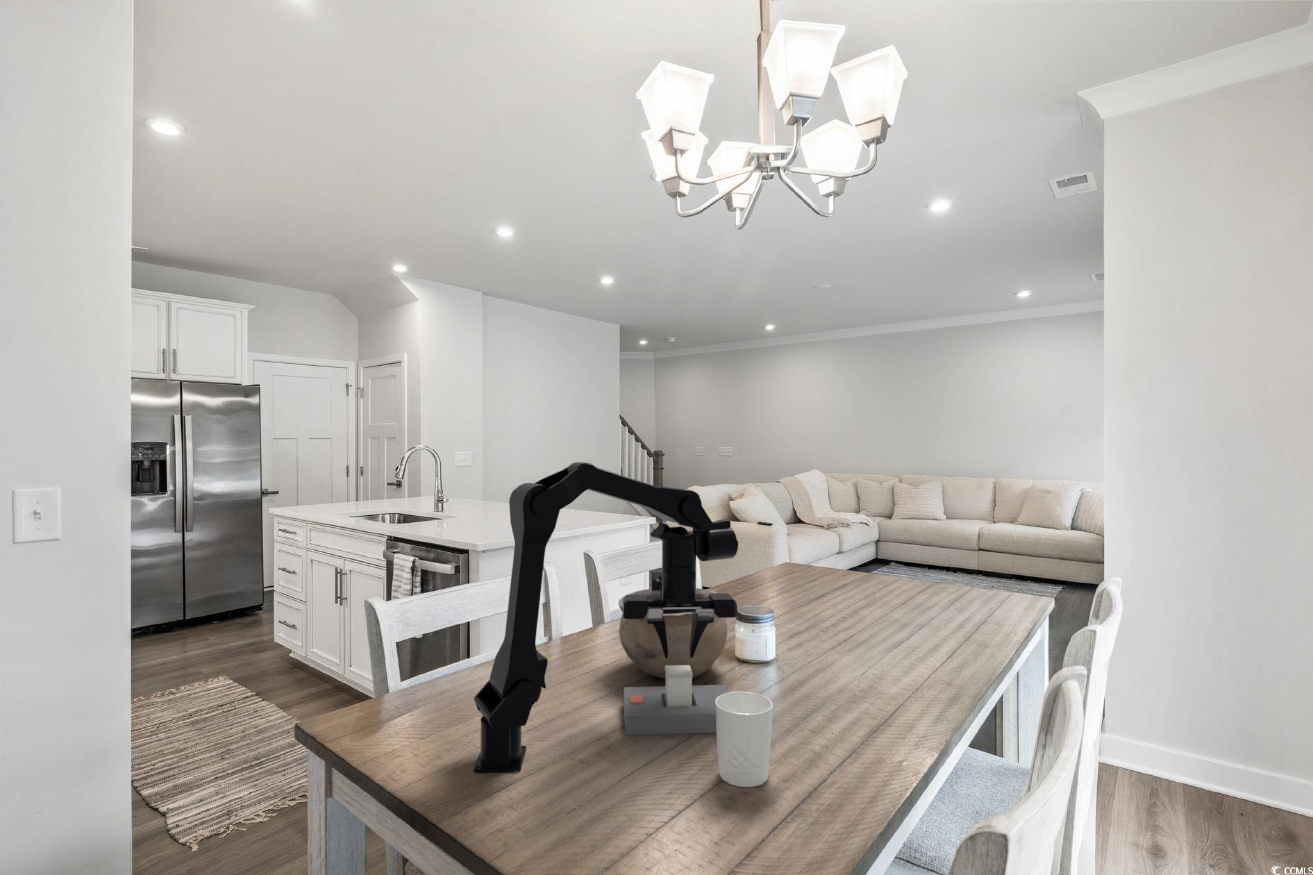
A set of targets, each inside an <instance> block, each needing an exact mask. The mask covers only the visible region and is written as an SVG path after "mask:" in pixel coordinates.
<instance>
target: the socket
mask: <svg viewBox="0 0 1313 875" xmlns="http://www.w3.org/2000/svg"><path fill="white" fill-rule="evenodd" d="M729 692H730V691H729V689H728V688H727V685H726V684H711V685H708V684H707V685H706V684H705V685H702V684H701V685H700V684H699V685H692V706H671V707H665V695H666V685H664V686H663V685H662V686H661V685H660V686H627V687H626V686H624V687H623V711H624V712H623V716H624V718H623V719H624V733H625V734H624V735H625V736H652V735H683V734H684V735H686V734H687V735H689V734H716V710H715V700H716V698H717V697H718V696H720V695H722V694H725V693H729Z"/></svg>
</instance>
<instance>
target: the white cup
mask: <svg viewBox="0 0 1313 875" xmlns="http://www.w3.org/2000/svg"><path fill="white" fill-rule="evenodd" d="M773 706H774V705H773V701H772V700H771V699H769V698H768V697H766V696H764V695H762V694H760V693H756V692H751V691H750V692H749V691H729V693H725V694H722V695H720V696H718V697H717V698H716V700H715V710H716V733H715V734H716V748H717V750H716V751H717V756H718V758H717V759H718V774H719V776H720V777H721V780H722V781H724V782H726V783H727V784H729V785H731V786H735V787H740V788H754V787H757V786H758V787H759V786H762V785H764V783H766V782H767V781H768V778H769V764H770V758H771V747H772V745H771V744H772V742H771V741H772V733H773V732H772V729H773V728H772V727H773V712H774V711H773V710H774V709H773V708H774V707H773Z"/></svg>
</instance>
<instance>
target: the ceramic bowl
mask: <svg viewBox="0 0 1313 875" xmlns="http://www.w3.org/2000/svg"><path fill="white" fill-rule="evenodd" d="M713 593H718V592H717V591H714V590H712V589H711V590H710V589H704V588H697V587H696V599H708V598H709V594H713ZM637 594H646V598H647V600H662V598H661V597H660V591H651V588H647V589H641V590H637V591H633V592H631V593H628V594H627V593H626V595H637ZM624 597H625V595H624V596H622V597H621V598H620V599H619V600H618V606H619V608H620V610H621V612H622V614H621V617H620V621H619V629H618V633H619V634H618V635H619V641H620V644H621V646H622V648H623V650H624V652H625V654H626V656H627V657H628V658H629V659H630V660H631V661H632V663H634V664H635V665H637V667H638V668H639V669H640V670H642V671H643V672H644V673H646V674H648V675H650V676H653V677H655V678H658V679H663V680H666V671H665V666H671V665H690V668H691V671H692V674H693V678H696V677H698V676H701V675H703V674H704V673H705V672H706V671H708V670H709V669H711V668H712V667H713V665H714V664H715V662H716V661H717V660H718V658H720V656H721V654H722V653H723V651H724V650H725V646H726V644H727V637H728V622H727V618H719V617H718V616H717V615H716V614H715V613H714V611H713V613H712V617H713V618H714V622H713V623H708V625H707V627H706V628H705V630H704V632H703V634H702V636H701V638H700V640H699V643H698V645H697V648H696V651H695V653H694V656H693V658H690V638H691V629H692V611H670V612H663V617H664V620H665V628H666V636H667V645H668V658H665V655H664V652H663V648H662V645H661V642H660V639H659V636H658V634H657V632H656V630H655V627H654V625H653V624H648V623H647V622H646V617H644V618H643V619H624V618H623V598H624ZM667 606H675V605H667ZM683 606H691V605H683Z"/></svg>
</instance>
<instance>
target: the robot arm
mask: <svg viewBox="0 0 1313 875" xmlns="http://www.w3.org/2000/svg"><path fill="white" fill-rule="evenodd" d="M587 490H588V491H590V492H594V493H597V494H600V495H604V496H607V497H609V498H610V497H611V498H614V499H617V500H620V501H624V502H626V503H630V504H633V505H637V506H639V507H641V508H643V509H645V511H648V512H649V513H650V514H652V515H654V516H655V517H658V518H660V519H662V520H663V521H666V522H671V523H675V524H677V525H679V526H672V527H670V526H669V524H667V523H663V522H660V523H659V524H658V526H657V527H656V528H655V529H653V530H652V531H651V532H650V534H649V535H650V537H651V538H655V539H659V540H661V547H662V548H661V571H651V573H650V589H651V591H660V597H661V598H662V600H647V598H646V594H637V595H627V594H625V595H624V596H625V597H624V596H623V597H624V598H623V612H622V613H623V618H624V619H643V618H644V617H646V622H647V623H648V624H653V625H654V627H655V630H656V632H657V634H658V636H659V639H660V642H661V645H662V648H663V652H664V655H665V658H668V645H667V636H666V628H665V620H664V617H663V612H670V611H692V629H691V638H690V658H693V656H694V653H695V651H696V648H697V645H698V643H699V640H700V638H701V636H702V634H703V632H704V630H705V628H706V627H707V625H708V623H713V622H714V618H713V617H712V613H713V611H714V613H715V614H716V615H717V616H718V617H719V618H726V619H727V618H737V617H738V605H737V603H738V602H737V601H736V600H735V599H734V597H733V596H732V595H731V594H730V593H724V592H723V593H722V592H721V593H719V592H717V593H713V594H709V598H708V599H696V588H697V559H698V560H699V561H701V562H711V561H717V560H718V561H719V560H729V559H733V558H735V556H736V555H737V554H738V550H739V540H738V539H737V535H736V533H735V530H734V529H733V528H732V527H731V525H732V524H731V523H732V522H731V520H727V519H718V520H715V521H713V520H711V518H710V516H709V514H708V513H707V512H706V510H705V509H704V506H703V505H702V499H701V498H700V494H698V492H696V491H694V490H691V489H685V488H683V489H682V488H677V487H676V488H673V487H667V486H666V487H665V486H658V485H654V484H653V485H652V484H649V483H647V482H644V481H641V480H637V479H635V478H631V477H628V476H624V475H622V474H619V473H616V472H613V471H611V470H610V471H609V470H607V469H603V468H600V467H598V466H596V465H594V464H593V463H589V462H584V461H583V462H581V461H575V462H572V463H571V464H570V465H568V466H566V467H565V468H563V469H561V470H559V471H556V472H554V473H552V474H550V475H548V476H545V477H543V478H541V479H540V480H537V481H536V482H534V483H533V482H524V483H523V484H520V485H518V486H517V487H515V489H513V490H512V491H511V493H510V496H509V501H508V503H509V516H510V517H509V518H510V519H509V520H510V521H509V522H510V526H511V530H512V535H513V541H514V550H513V559H512V568H511V576H510V577H511V578H510V584H509V586H510V587H509V595H508V604H507V614H506V622H505V630H504V639H503V642H502V644H501V645H500V646H499V649H498V652H497V653H496V655H495V658H494V661H493V663H492V664H493V665H492V668H491V671H490V676H489V679H488V681H486V683H485V684H484V685H483V687H481V689H480V690H479V691H478V692H477V693H476V695H475V696H474V697H473V701H474V703H475V705H476V709H477V711H479V712H480V714H481V717H480V752H479V755H478V757H477V758H476V762H475V763H474V766H473V772H475V773H483V772H484V773H487V772H490V773H491V772H514V771H515V772H517V771H520V770H521V769H522V768H523V767H522V766H523V763H524V759H525V757H526V753H527V746H526V745H522V727H525V726H526V725H527V723H528V719H529V717H530V715H531V714H530V713H531V710H532V709H533V708H532V707H533V706H534V705H535V704H536V703H537V702H538V701H539V699H540V698H541V693H542V688H543V689H547V686H546V681H545V679H546V678H545V676H546V674H547V673H546V671H547V668H548V662H549V660H548V658H547V657H546V656H544V655H543V654H542V653H540V652H539V650H537V647H536V646H537V645H536V641H537V640H536V639H537V632H538V629H537V628H538V623H539V620H538V619H539V612H540V602H541V595H542V594H541V592H542V583H543V575H544V574H543V573H544V566H545V565H544V563H545V555H546V548H547V546H548V543H549V541H550V539H551V537H552V535H553V533H554V531H555V529H556V525H557V523H558V519H559V515H560V512H561V511H560V510H562V509H564V508H565V507H568V505H570V504H571V503H573V502H574V501H575V500H577V499H578V498H579V497H580V496H581V495H582V494H583V493H584V492H587ZM685 527H686V528H685ZM687 527H688V528H692V530H689V531H688V529H687ZM667 605H675V606H667ZM683 605H691V606H683Z"/></svg>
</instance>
